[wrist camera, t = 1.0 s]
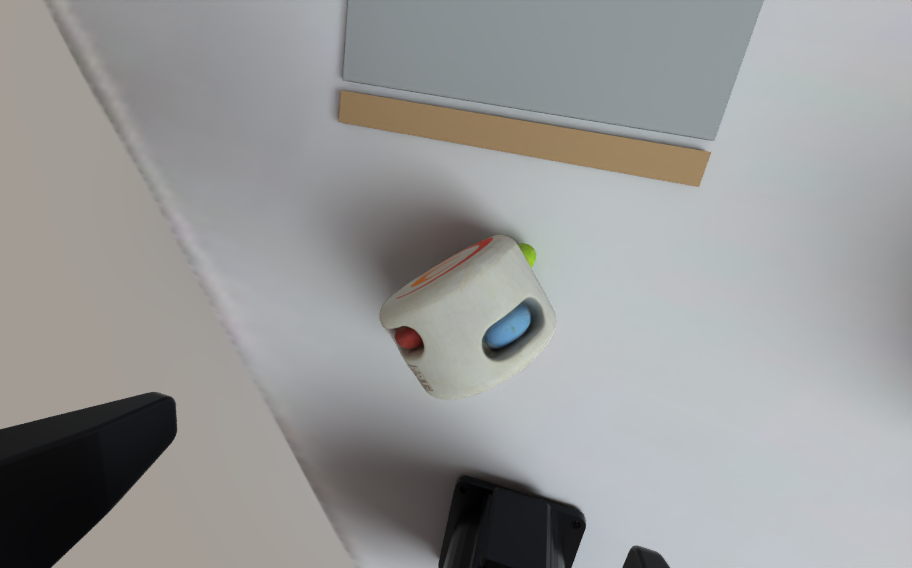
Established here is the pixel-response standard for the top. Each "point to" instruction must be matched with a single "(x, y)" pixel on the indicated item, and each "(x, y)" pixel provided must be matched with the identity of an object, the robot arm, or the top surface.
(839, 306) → the top surface
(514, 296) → the roller toy
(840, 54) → the top surface
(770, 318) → the top surface
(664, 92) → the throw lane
